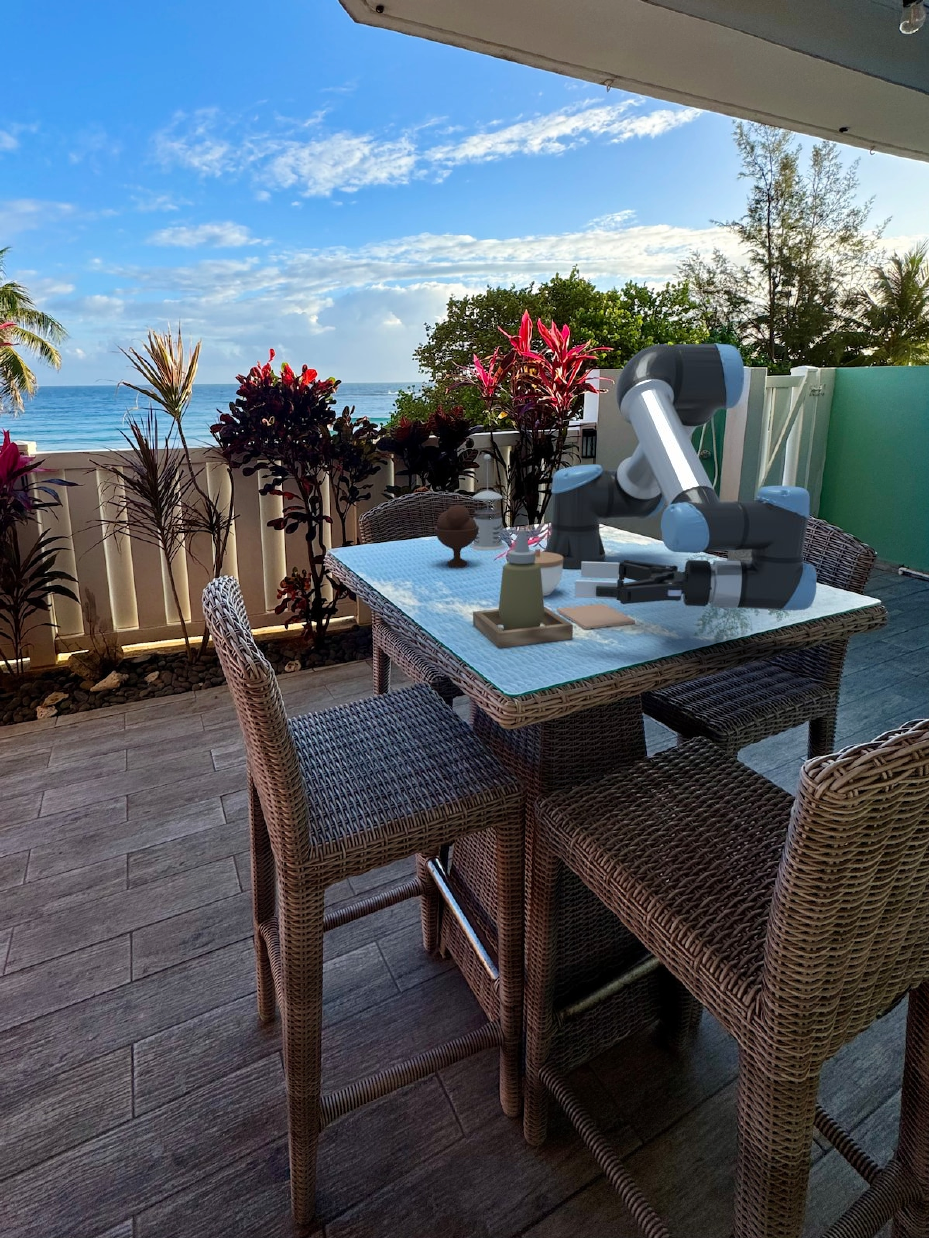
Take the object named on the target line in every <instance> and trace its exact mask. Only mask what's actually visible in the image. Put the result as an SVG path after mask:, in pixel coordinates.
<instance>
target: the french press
mask: <svg viewBox="0 0 929 1238" xmlns="http://www.w3.org/2000/svg"><path fill="white" fill-rule="evenodd" d="M483 459H484V460H486V489H485V490H483V491H481V492H478V493H476V494H475V495H473V496H472V499H473V500H475V501H485V503H486V505H487V506H486V507H487V508H486V509H481V510H480V509H478V510H475V511H474V514H475V515H476V516H473V517H472V519H473V520H475V522H476V525H478V527H479V530H478V534H477V537H476V539H475V540H474V541H473V543H471V544H470V546H471V547H470V549H472V548H473V549H472V550H475V551H476V550H477V551H496V550H497V551H499V550H503V549H505V548H506V545H505V544H504V543H503V516H501V515H500V514H501V512H502V511H501V510H498V509H497V510H496V509H495V503H494V501H499V500H502V499H503V496H502V495H501V494H500V493H498V492H496V491H491V490H490V489H489V477H488V476H489V474H488V473H489V472H488V471H489V469H488V468H489V462H488V461H489V460H491V459H492V457H491V455H490V454H488V453H487V454H485V455H484V456H483ZM489 501H490V502H491V504H489ZM489 506H492V508H493V509H489ZM489 516H490V519H489Z"/></svg>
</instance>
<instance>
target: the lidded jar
mask: <svg viewBox="0 0 929 1238" xmlns="http://www.w3.org/2000/svg"><path fill="white" fill-rule="evenodd" d="M534 551H535V563H537V564H538V565H539V566H540V567H541V578H542V590H543V597H547V596H550V595H551V594H553V593H552V592H554V590H556V588H558V586H559V584H560V582H561V580H562V575H563V569H564V568H563V560H564V558H563V556H561V555H559V554H556V553H550V552H545V551H541V548H535V549H534Z"/></svg>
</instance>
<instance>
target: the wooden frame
mask: <svg viewBox="0 0 929 1238" xmlns="http://www.w3.org/2000/svg"><path fill="white" fill-rule="evenodd" d="M541 624H543V625H542V626H541V625H540V626H539V627H531V628H522V629H514V630H503V629H501V628H500V627H499V626H498V625H503V624H502V621H501V618H500V615H499V608H495V609H486V610H485V609H484V610H477V611H473V612H472V625H473V626H474V627H475V628H476V629H477V630H478V631H479V632H481V633H482V635H484V636H485V637H486V638H487V639H488V640H489V641H491V642H492V643H493V645H495V646H496V647H497V648H498V649H500V648H501V649H503V648H509V647H510V648H511V647H519V646H526V645H534V644H542V643H550V642H559V641H565V640H567V641H568V640H573V637H574V636H573V634H574V633H573V632H574V630H573V629H574V625H573V624H572V623H571V622H569V620H566V619H564V618H563V617H561V616H560V615H558V614H557V613H556V612H553V611H552V610H550V609H549V608H547V607H546V606H544V616H543V618H542V621H541Z"/></svg>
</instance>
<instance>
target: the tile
mask: <svg viewBox="0 0 929 1238" xmlns="http://www.w3.org/2000/svg"><path fill="white" fill-rule="evenodd" d="M556 612H557V613H558V614H559V615H561V616H563V617H564V616H565V617H564V618H566V619H567V620H569V619H570V620H569V621H571V622H572V621H573V622H572V623H574V624H575V623H576V624H575V625H577V624H578V625H577V626H579V627H580V626H581V627H580V628H581V629H583V628H584V629H583V630H585V629H587V630H592V629H591V628H595V629H600V628H599V627H604V628H607V627H606V626H612V627H619V626H626V625H625V624H628V625H633V624H632V623H635V624H636V620H635V619H633V618H631V617H629V616H628V615H626V614H625V613H621V612H620V611H618V610H616V609H615V608H612V607H611V606H609V605H607V604H605V603H603V602H602V603H595V604H585V605H576V606H568V607H567V606H566V607H557V608H556Z"/></svg>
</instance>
